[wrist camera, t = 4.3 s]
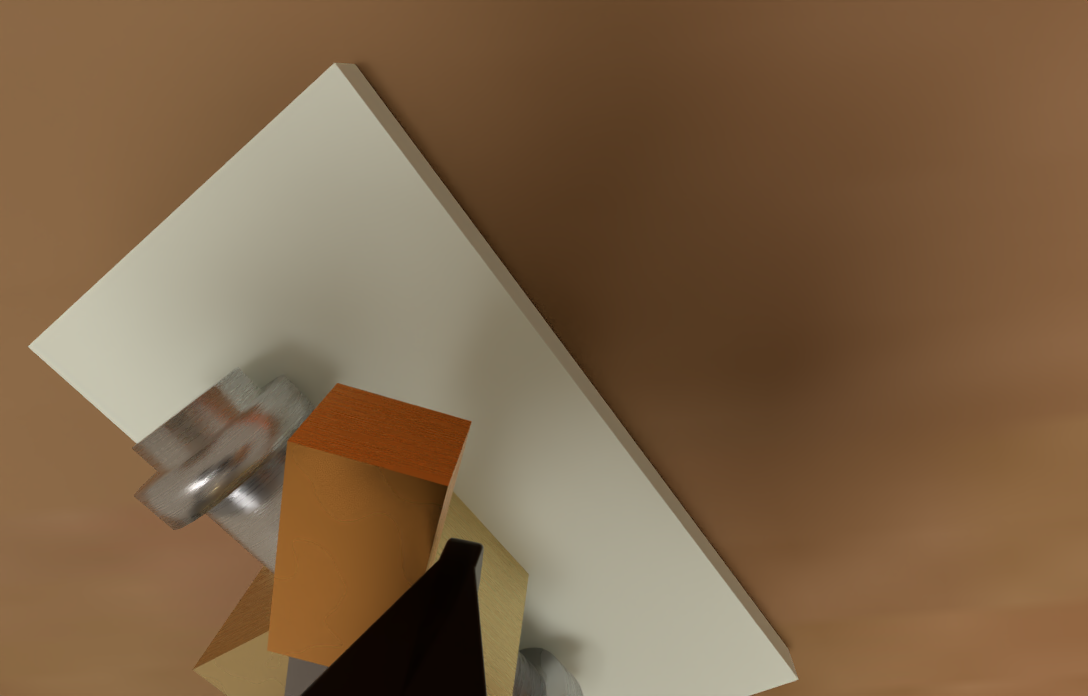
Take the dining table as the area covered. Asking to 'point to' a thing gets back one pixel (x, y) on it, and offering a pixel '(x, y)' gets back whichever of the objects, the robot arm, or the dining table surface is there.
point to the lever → (356, 521)
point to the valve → (253, 521)
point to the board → (421, 382)
